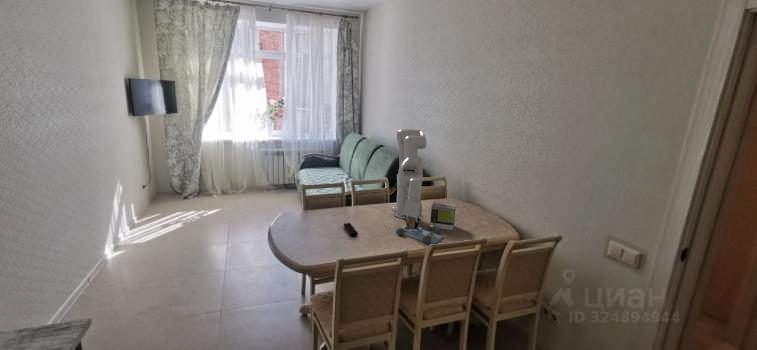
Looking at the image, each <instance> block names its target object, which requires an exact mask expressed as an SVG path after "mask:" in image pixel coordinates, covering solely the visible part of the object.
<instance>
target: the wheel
mask: <svg viewBox="0 0 757 350" xmlns="http://www.w3.org/2000/svg"><path fill="white" fill-rule="evenodd" d="M436 229H437V228H436V226H435V225H430V224H428V225H427V226H426V231H428V232H430V234H432V233H434V231H436Z"/></svg>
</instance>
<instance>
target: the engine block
mask: <svg viewBox="0 0 757 350" xmlns="http://www.w3.org/2000/svg"><path fill="white" fill-rule="evenodd" d="M415 222H416V220H415V218H413V217H409V218H407V227H406V228H409V229H413V230H414V229H415Z"/></svg>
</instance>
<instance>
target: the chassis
mask: <svg viewBox="0 0 757 350" xmlns="http://www.w3.org/2000/svg"><path fill="white" fill-rule="evenodd" d="M406 227H407V226H406V224H404V225H402V226H401V227H398V228H397V229H395V232H394V233H396V234H397V235H398V236H406V237H408V238H411V239H415V240H417V241H419V242H420V241H421V242H423V243H424V244H426V245H428V244H430V245H433V244H434V243H435V244H436V243H438V242H439V241H441V240H442V239H443V235H442V229H439V228H436V231H433V233H432V234H430V231H428V230H424V229H423V228H422V227H421V226H418V227H417V228H416V229H414V230H413V229H409V228H406ZM435 244H434V245H435Z"/></svg>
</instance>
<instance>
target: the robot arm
mask: <svg viewBox="0 0 757 350" xmlns="http://www.w3.org/2000/svg"><path fill="white" fill-rule="evenodd" d="M396 143H397V145H398V148H399V149H398V150H399V153H398V156H399V157H398V159H399V160H398V163H399V168H398V173H397V174H396V180H397V181H396V184H397V187H396V188H397V189H396V190H397V193H396V206H392V207H391V211H393V217H395V218H397V219H405V220H406V221H405V225H406V226H407V218H409V217H413V218H415V220H416V222H415V229H416V228H417V227H419V224H420V223H419V222H421V221H422V220H424V219H425V217H424V214H423V206H422V205H423V204H422V201H421V197H422V184H423V177H424V175H423V174H424V173H423V171H424V170H423V169H424V167H423V165H424V164H423V158H422V157H421V156H419V151H418V150H425V149H426V148H427V144H428V143H427V138H426V135H425V133H424V131H423V130H421V129H412V128H411V129H407V128H405V129H404V128H402V129H399V130H397V131H396ZM405 170H407V171H405ZM408 170H409V171H408ZM411 170H412V171H411ZM413 170H414V171H413Z"/></svg>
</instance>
